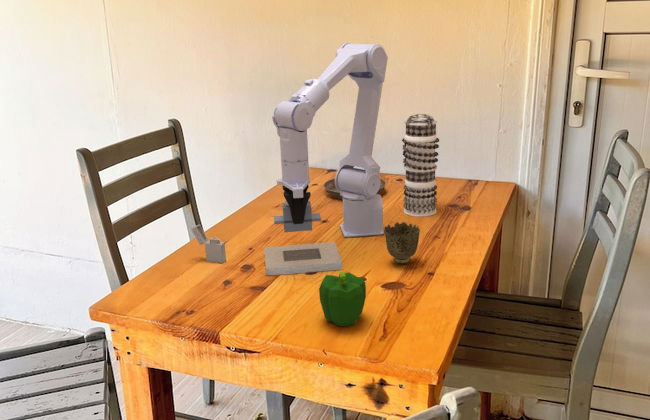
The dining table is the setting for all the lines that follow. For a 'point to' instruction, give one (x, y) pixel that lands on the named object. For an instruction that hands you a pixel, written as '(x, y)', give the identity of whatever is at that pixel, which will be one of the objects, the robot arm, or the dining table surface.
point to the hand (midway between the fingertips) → (297, 220)
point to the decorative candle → (420, 165)
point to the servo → (288, 221)
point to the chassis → (302, 258)
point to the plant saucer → (335, 193)
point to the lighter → (210, 246)
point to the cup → (402, 241)
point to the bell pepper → (342, 298)
